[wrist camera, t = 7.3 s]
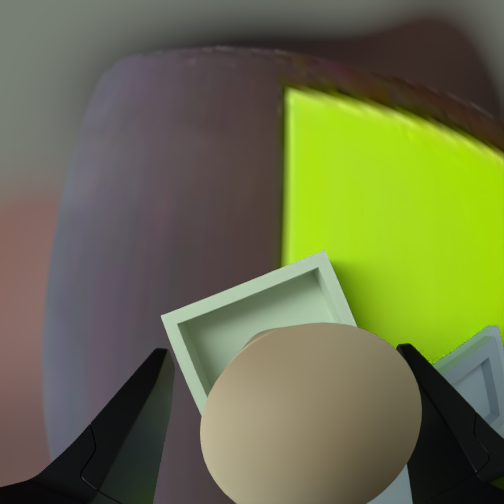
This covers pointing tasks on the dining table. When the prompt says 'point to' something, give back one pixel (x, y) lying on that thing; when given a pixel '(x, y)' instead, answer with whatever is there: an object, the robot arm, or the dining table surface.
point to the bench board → (466, 393)
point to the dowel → (311, 417)
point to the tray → (252, 317)
